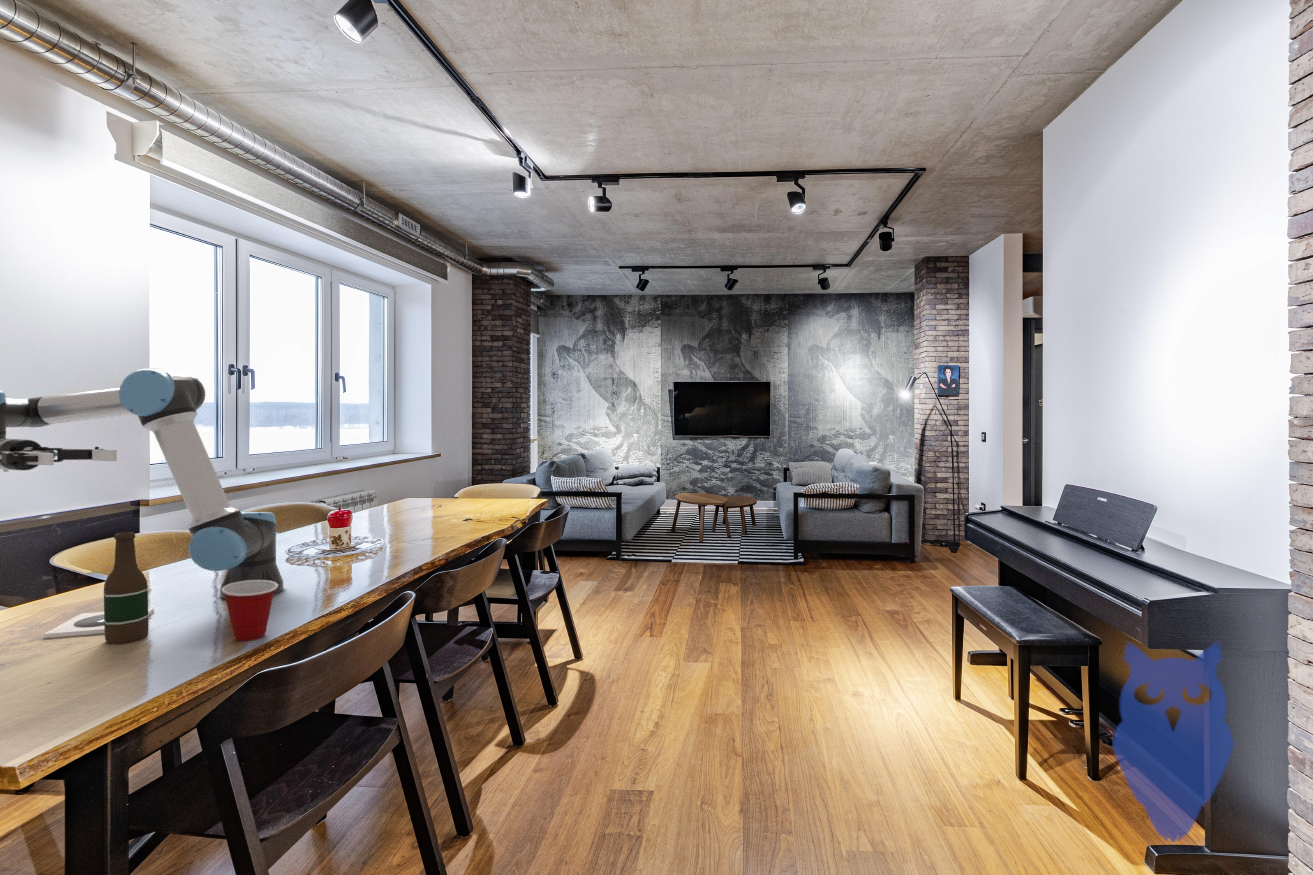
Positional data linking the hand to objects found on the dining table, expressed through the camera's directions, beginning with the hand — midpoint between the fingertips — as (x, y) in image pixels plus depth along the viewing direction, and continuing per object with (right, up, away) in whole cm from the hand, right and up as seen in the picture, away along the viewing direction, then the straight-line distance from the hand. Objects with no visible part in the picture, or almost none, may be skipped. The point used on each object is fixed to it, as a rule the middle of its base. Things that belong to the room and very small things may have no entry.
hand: (84, 457), depth 146 cm
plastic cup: (+43, -41, -5) cm, 60 cm away
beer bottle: (+16, -41, -7) cm, 44 cm away
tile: (+2, -40, +2) cm, 40 cm away
